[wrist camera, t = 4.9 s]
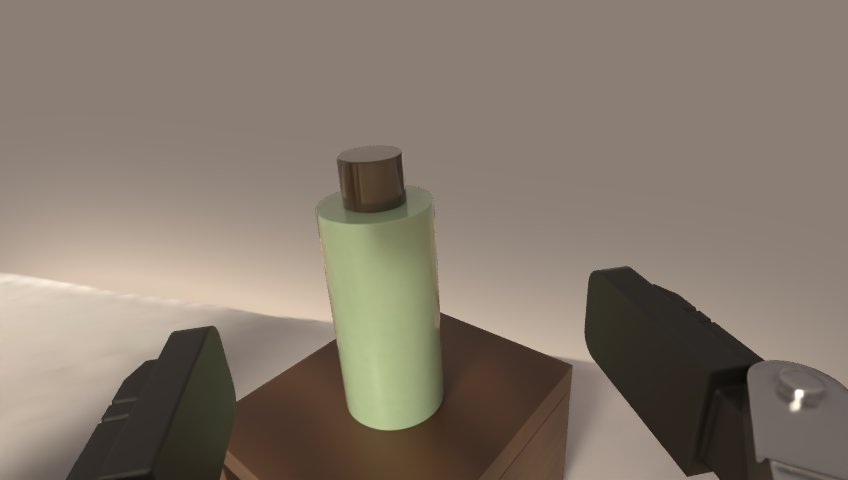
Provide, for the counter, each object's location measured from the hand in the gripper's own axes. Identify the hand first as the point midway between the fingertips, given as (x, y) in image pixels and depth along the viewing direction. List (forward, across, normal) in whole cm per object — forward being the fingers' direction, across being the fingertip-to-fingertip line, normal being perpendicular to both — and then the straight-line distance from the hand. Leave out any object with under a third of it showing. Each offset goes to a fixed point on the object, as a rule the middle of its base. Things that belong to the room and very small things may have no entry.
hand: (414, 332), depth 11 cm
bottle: (+10, 0, +10) cm, 15 cm away
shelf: (+10, 0, +19) cm, 22 cm away
